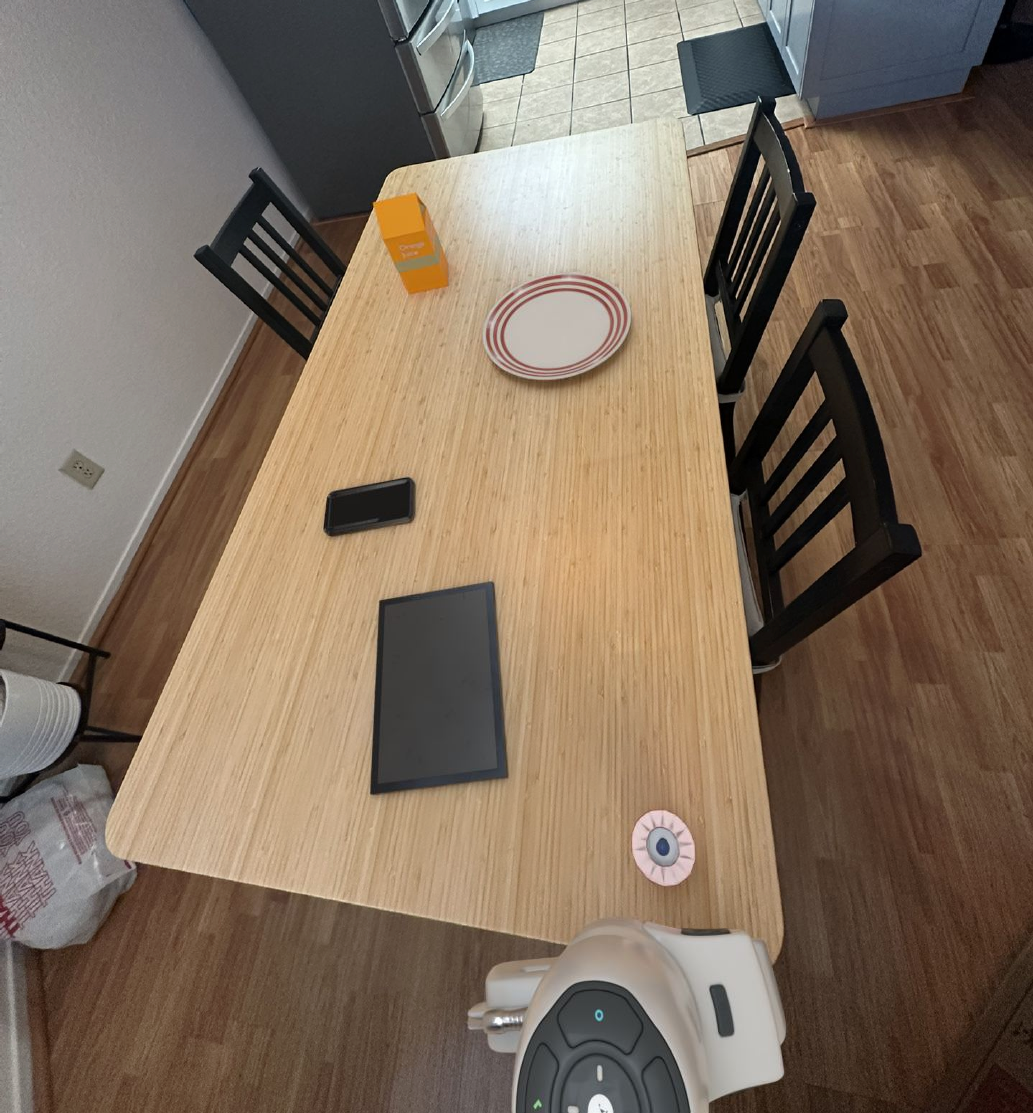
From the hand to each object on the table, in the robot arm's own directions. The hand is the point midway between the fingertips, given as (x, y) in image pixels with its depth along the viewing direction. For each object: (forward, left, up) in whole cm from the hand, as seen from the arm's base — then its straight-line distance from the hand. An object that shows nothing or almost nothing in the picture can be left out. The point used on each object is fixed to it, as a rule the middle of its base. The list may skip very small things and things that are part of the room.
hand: (633, 969), depth 46 cm
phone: (+56, +32, -15) cm, 66 cm away
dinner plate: (+86, -3, -15) cm, 87 cm away
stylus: (+8, -4, -6) cm, 10 cm away
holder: (+8, -4, -15) cm, 18 cm away
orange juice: (+110, +22, -15) cm, 113 cm away
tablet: (+28, +21, -15) cm, 38 cm away
